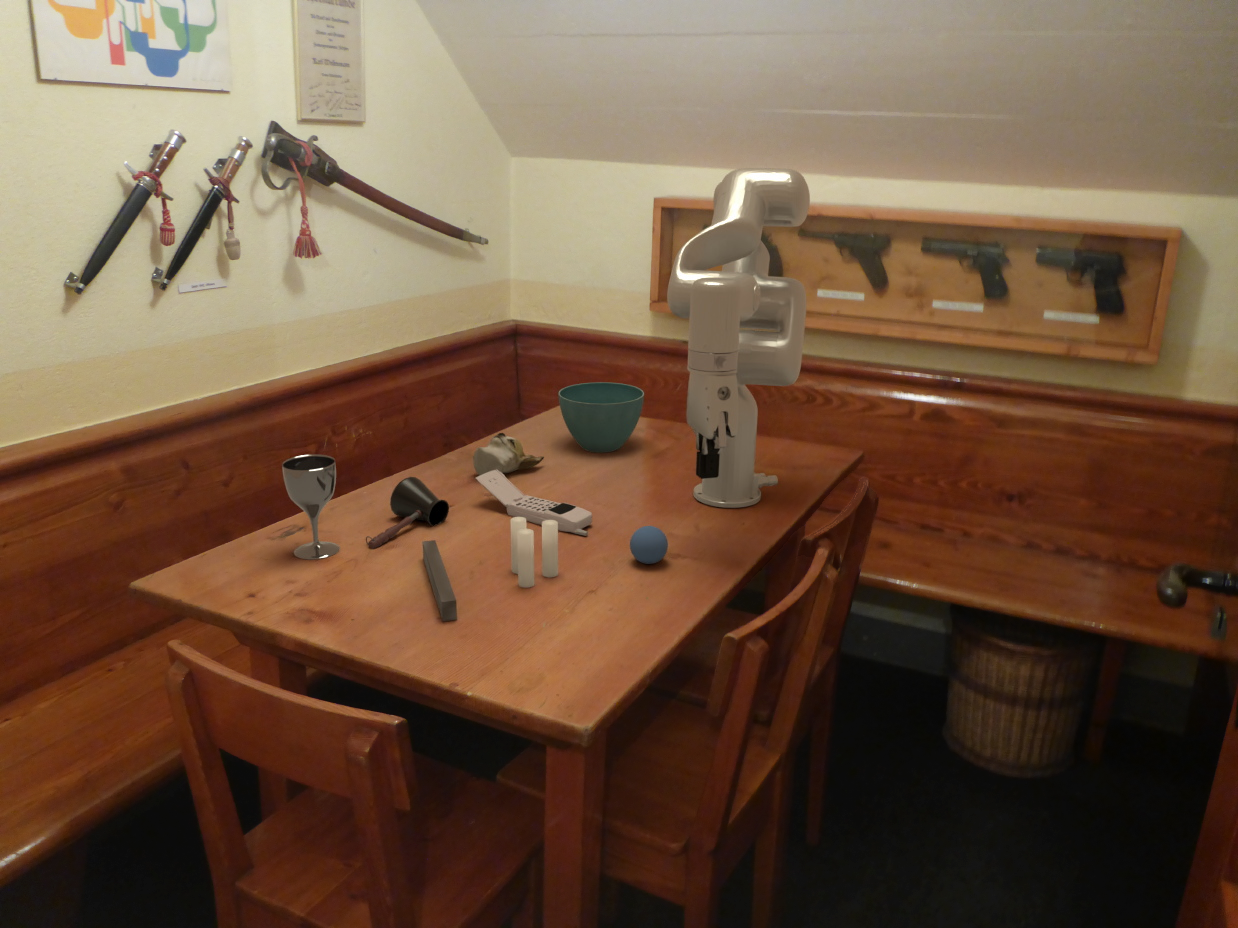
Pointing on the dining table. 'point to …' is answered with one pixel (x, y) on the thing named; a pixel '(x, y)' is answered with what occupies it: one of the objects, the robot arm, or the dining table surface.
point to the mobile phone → (535, 505)
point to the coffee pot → (412, 508)
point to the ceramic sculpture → (503, 456)
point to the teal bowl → (601, 413)
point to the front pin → (550, 548)
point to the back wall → (439, 581)
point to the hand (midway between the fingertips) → (707, 476)
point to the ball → (648, 544)
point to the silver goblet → (311, 496)
